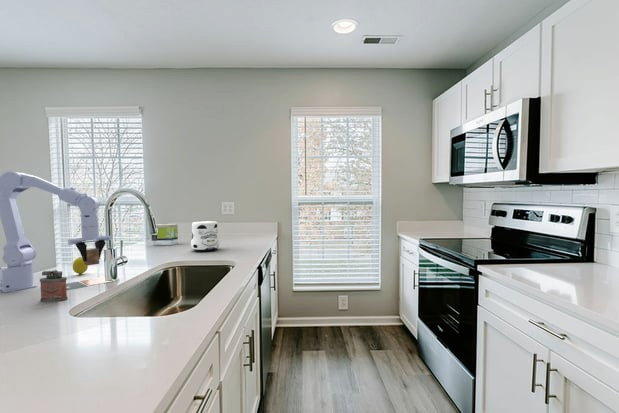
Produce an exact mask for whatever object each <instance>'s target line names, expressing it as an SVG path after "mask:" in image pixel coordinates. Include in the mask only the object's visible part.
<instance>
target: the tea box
mask: <svg viewBox="0 0 619 413" xmlns="http://www.w3.org/2000/svg"><path fill="white" fill-rule="evenodd" d="M156 225H157V228H158V234H157V235H152V234H151V246H174V245H177V244H179V238H178V237H179V234H178V233H179V232H178V224H177V223H161V224H160V223H159V224H156Z"/></svg>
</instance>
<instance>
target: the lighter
mask: <svg viewBox="0 0 619 413" xmlns="http://www.w3.org/2000/svg"><path fill="white" fill-rule="evenodd" d="M41 276H46V277H42V278H39V283H40V288H41V289H40V302H43V303H44V302H45V303H49V302H50V303H51V302H65V301H67V300H68V299H69V298H68V296H67V294H68V293H67V292H68V290H67V289H66V284H67V280H68V277H67V276H63V271H62V270H60V271H59V270H57V269H55V270H43V271H41Z"/></svg>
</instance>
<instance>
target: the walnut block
mask: <svg viewBox="0 0 619 413" xmlns="http://www.w3.org/2000/svg"><path fill="white" fill-rule="evenodd" d="M86 255H87V261H86V262H84V264H85V265H88V266H95V265H100V259H99V249H97V248H95V247H93V248H87V249H86Z"/></svg>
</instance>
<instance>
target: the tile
mask: <svg viewBox="0 0 619 413" xmlns="http://www.w3.org/2000/svg"><path fill="white" fill-rule="evenodd" d="M105 277H106V276H101V277H100V276H99V277H95V278H89V279H85V280H79V282H80V283H82V284H85V285H87V286H88V287H89V286H90V287H91V286H95V285H101V284H106V283H110V282H111V283H112V282H115V281H116V280H115V279H112V280H113V281H105Z"/></svg>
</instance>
